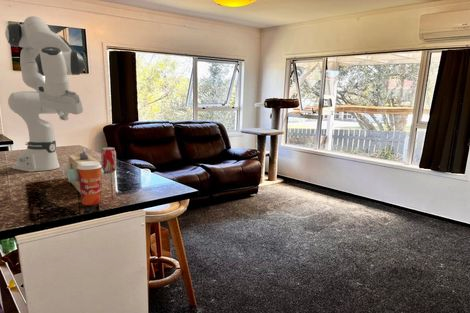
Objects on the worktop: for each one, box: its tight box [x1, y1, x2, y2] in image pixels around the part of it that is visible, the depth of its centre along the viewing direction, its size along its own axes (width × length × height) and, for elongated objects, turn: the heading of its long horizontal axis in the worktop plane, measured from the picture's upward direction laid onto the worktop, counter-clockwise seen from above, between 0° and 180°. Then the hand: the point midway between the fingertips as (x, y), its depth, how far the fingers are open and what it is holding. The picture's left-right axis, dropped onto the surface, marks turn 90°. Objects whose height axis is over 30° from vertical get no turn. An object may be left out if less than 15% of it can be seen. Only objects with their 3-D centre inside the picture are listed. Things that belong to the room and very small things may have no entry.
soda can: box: [100, 146, 117, 173], centre depth 167 cm, size 7×7×12 cm
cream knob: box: [61, 162, 72, 176], centre depth 144 cm, size 13×5×5 cm, turn 127°
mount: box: [68, 153, 103, 194], centre depth 140 cm, size 8×22×12 cm, turn 37°
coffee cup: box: [77, 161, 102, 206], centre depth 120 cm, size 8×8×15 cm
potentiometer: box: [79, 148, 89, 160], centre depth 138 cm, size 3×3×4 cm
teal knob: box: [67, 168, 105, 183], centre depth 134 cm, size 13×5×5 cm, turn 127°
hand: (64, 119), depth 143 cm, fingers closed
